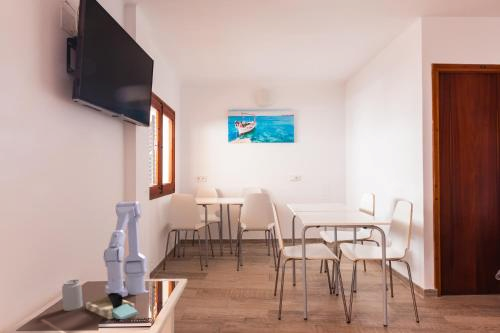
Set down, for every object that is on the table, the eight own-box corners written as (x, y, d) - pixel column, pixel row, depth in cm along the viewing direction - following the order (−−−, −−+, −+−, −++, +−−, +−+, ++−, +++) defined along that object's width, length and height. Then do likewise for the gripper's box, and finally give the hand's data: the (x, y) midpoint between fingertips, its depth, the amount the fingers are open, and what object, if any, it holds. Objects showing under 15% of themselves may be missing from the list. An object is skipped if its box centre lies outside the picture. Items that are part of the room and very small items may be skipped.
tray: (86, 310, 150) (85, 302, 150) (111, 301, 158) (110, 294, 158) (109, 321, 137) (109, 313, 137) (135, 311, 145) (134, 303, 145)
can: (86, 306, 155) (85, 278, 155) (73, 313, 148) (71, 284, 148) (73, 305, 157) (71, 278, 158) (59, 312, 150) (57, 283, 150)
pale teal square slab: (110, 314, 140) (110, 309, 140) (126, 308, 146) (126, 303, 145) (120, 322, 135) (121, 317, 135) (137, 315, 140) (137, 311, 140)
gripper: (97, 277, 145) (99, 310, 145) (114, 282, 136) (117, 318, 136) (113, 272, 151) (115, 304, 151) (131, 277, 141) (133, 312, 141)
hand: (117, 310), depth 144 cm, fingers closed
